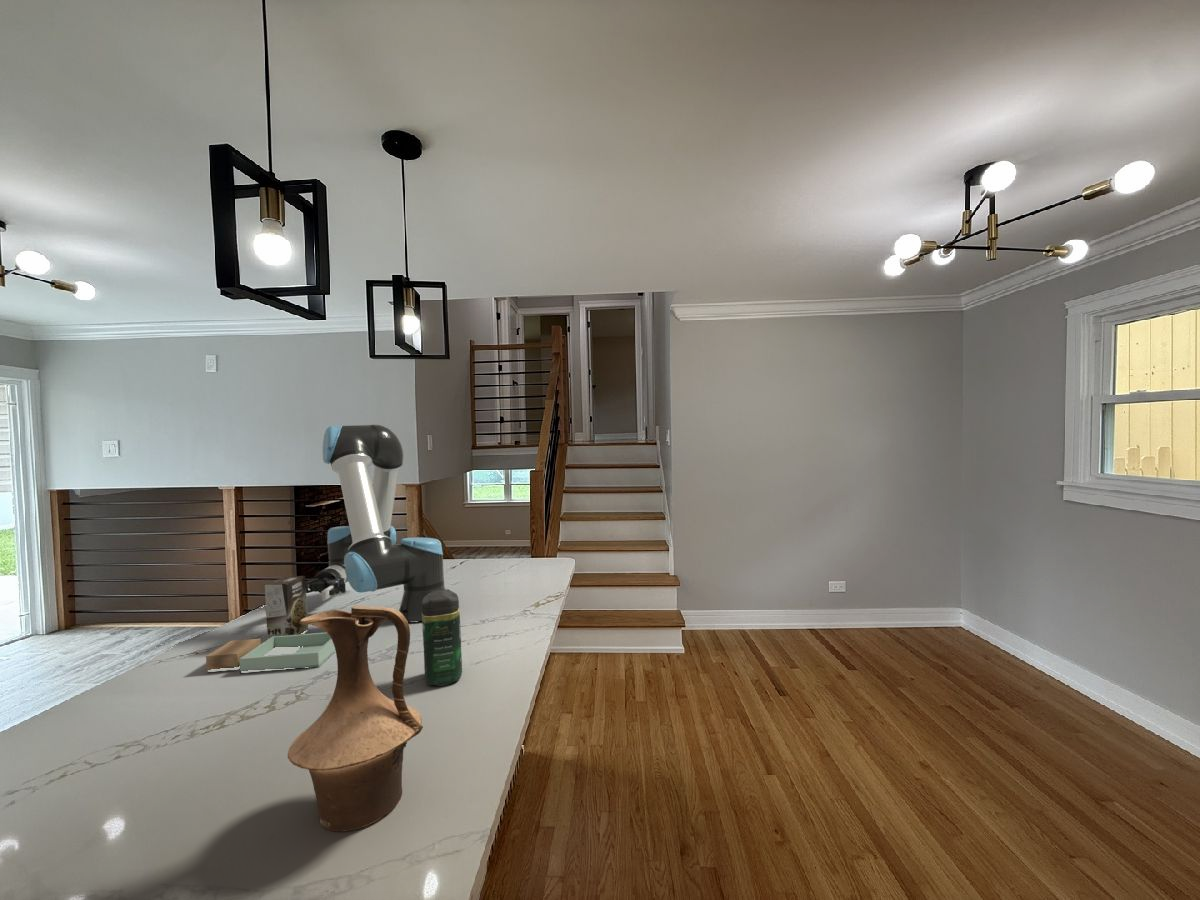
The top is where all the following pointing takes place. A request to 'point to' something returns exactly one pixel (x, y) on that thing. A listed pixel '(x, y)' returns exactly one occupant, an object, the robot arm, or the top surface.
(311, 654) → the tray
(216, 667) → the walnut ledge
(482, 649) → the top surface
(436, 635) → the coffee jar
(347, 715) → the pitcher
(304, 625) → the coffee box
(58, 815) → the top surface
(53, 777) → the top surface
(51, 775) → the top surface
